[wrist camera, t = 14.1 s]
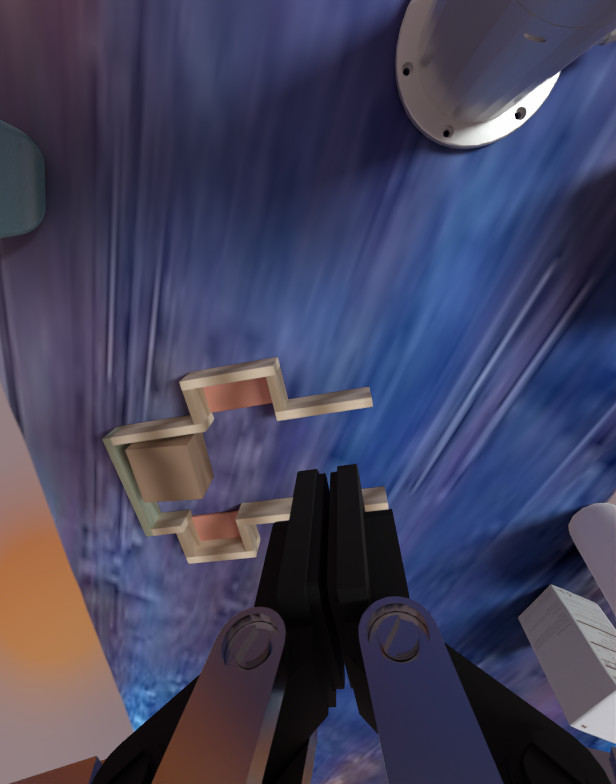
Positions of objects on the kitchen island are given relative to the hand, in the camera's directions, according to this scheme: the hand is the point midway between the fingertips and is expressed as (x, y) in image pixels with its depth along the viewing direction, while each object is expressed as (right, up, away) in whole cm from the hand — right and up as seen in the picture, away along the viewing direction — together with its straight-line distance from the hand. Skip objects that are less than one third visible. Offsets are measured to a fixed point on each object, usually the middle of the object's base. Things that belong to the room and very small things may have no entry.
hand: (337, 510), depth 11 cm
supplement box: (+32, -26, +40) cm, 57 cm away
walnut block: (-16, -4, +35) cm, 39 cm away
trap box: (-8, -5, +34) cm, 35 cm away
